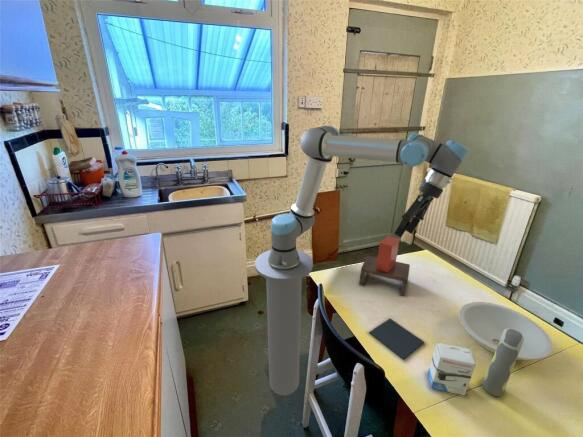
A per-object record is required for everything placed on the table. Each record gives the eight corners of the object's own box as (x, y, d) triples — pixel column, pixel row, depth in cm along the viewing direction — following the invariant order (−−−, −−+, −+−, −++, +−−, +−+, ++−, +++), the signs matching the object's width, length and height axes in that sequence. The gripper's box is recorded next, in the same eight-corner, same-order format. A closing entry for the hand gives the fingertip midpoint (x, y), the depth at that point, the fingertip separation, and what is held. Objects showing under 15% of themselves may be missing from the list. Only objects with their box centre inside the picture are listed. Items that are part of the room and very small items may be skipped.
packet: (376, 268, 117) (379, 242, 112) (383, 260, 123) (387, 235, 118) (387, 272, 114) (392, 246, 110) (395, 264, 120) (399, 239, 115)
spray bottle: (505, 389, 77) (529, 332, 69) (500, 401, 74) (525, 343, 66) (484, 377, 80) (505, 321, 72) (479, 388, 77) (500, 331, 69)
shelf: (359, 284, 120) (361, 268, 117) (364, 270, 130) (366, 255, 127) (404, 296, 113) (408, 279, 110) (406, 280, 123) (409, 264, 120)
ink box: (430, 389, 77) (439, 357, 72) (427, 373, 81) (435, 342, 77) (465, 396, 75) (477, 364, 70) (460, 379, 79) (470, 348, 75)
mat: (369, 333, 95) (369, 331, 95) (389, 319, 101) (390, 318, 101) (403, 360, 85) (403, 358, 85) (423, 343, 91) (424, 341, 91)
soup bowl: (448, 310, 105) (452, 296, 103) (523, 324, 99) (529, 309, 97) (465, 364, 84) (470, 347, 82) (562, 385, 78) (571, 368, 76)
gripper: (436, 188, 91) (401, 243, 99) (450, 190, 111) (420, 235, 118) (415, 177, 95) (383, 231, 102) (432, 181, 114) (404, 225, 122)
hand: (403, 233), depth 110 cm, fingers open, 13 cm apart
